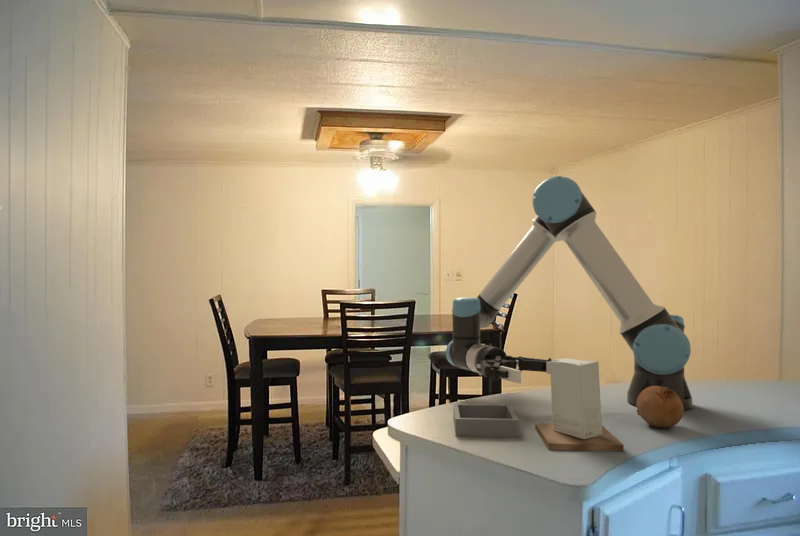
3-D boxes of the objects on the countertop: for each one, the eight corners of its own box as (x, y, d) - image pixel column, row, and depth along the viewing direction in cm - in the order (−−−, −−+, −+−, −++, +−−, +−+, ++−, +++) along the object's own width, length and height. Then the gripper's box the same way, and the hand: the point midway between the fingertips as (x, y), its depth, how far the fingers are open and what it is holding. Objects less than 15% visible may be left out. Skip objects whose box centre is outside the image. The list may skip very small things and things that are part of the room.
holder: (510, 419, 122) (510, 404, 122) (518, 437, 109) (518, 420, 109) (453, 418, 123) (453, 403, 123) (455, 435, 110) (455, 419, 110)
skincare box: (602, 436, 106) (602, 361, 106) (582, 441, 103) (581, 364, 103) (569, 426, 113) (569, 356, 113) (549, 430, 110) (549, 358, 110)
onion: (674, 444, 114) (689, 408, 110) (629, 427, 118) (641, 391, 113) (676, 418, 122) (690, 383, 117) (633, 403, 125) (645, 369, 121)
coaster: (600, 429, 114) (600, 424, 115) (623, 451, 101) (623, 444, 101) (535, 428, 115) (535, 422, 115) (548, 449, 101) (548, 443, 101)
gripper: (525, 371, 141) (586, 386, 122) (445, 379, 130) (498, 397, 111) (525, 342, 141) (586, 353, 122) (445, 348, 130) (498, 361, 111)
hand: (544, 374), depth 117 cm, fingers open, 13 cm apart
